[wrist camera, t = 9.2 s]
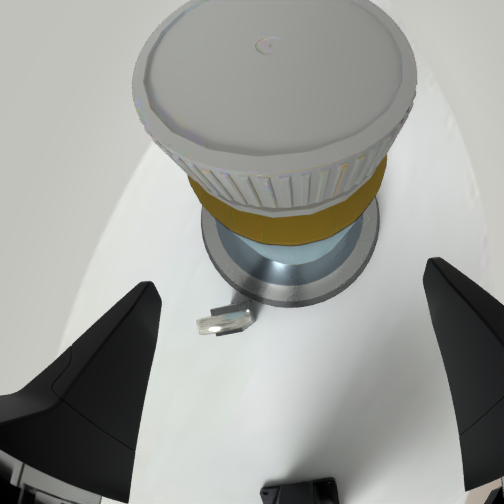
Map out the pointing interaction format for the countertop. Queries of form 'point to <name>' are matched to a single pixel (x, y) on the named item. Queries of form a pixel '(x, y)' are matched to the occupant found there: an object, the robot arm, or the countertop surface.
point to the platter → (286, 275)
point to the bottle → (278, 113)
